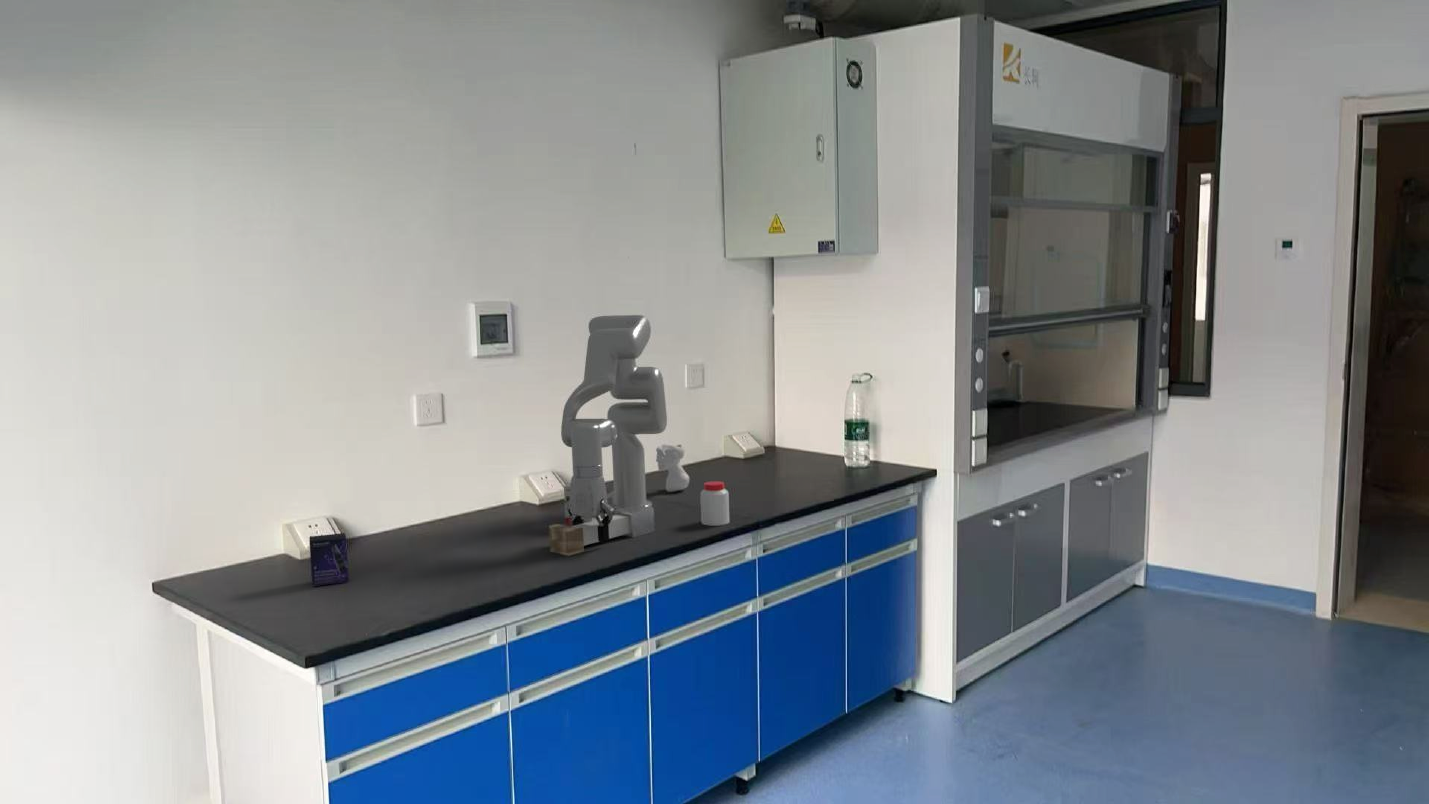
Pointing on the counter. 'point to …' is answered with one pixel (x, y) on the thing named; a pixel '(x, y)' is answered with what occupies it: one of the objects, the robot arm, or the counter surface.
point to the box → (328, 559)
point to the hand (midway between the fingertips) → (591, 537)
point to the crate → (566, 539)
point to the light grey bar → (616, 528)
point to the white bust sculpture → (672, 466)
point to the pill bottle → (714, 504)
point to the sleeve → (639, 519)
